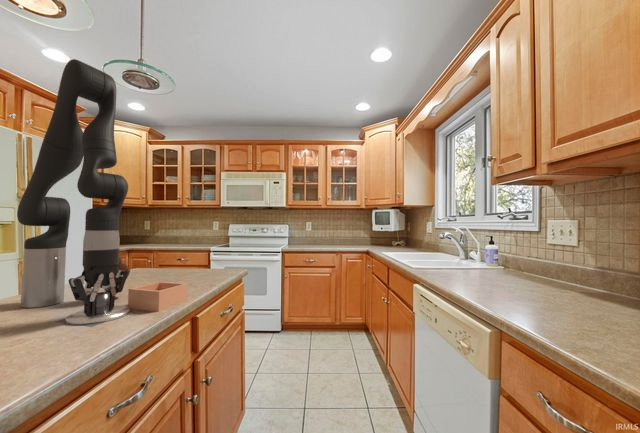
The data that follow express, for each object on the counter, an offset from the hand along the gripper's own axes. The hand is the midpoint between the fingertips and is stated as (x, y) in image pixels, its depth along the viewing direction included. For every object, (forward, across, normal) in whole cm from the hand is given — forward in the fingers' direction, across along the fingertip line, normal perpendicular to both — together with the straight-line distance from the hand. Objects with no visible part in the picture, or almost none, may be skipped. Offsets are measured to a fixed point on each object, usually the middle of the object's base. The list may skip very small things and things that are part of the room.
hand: (99, 312), depth 71 cm
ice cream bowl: (+2, -13, -14) cm, 19 cm away
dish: (+1, -13, +6) cm, 14 cm away
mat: (+1, 0, 0) cm, 1 cm away
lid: (+1, 0, 0) cm, 1 cm away
